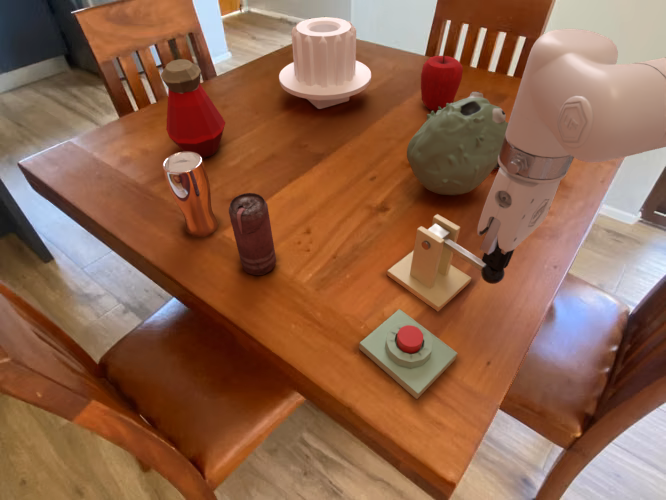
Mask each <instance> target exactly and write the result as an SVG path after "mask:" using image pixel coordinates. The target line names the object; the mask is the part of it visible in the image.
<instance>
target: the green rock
mask: <svg viewBox="0 0 666 500" xmlns="http://www.w3.org/2000/svg"><path fill="white" fill-rule="evenodd" d="M438 108H439V110H438V111H436V112H435V111H432V110H430V113H427V114H426V120H425V122H424V123H423V124H421V126H420V128H419V129H418V130H417V131H416V132H415V134H414V135H413V136H412V137H411V139H410V140H409V142H408V144H407V149H406V158H407V161H408V164H409V165H410V169H411V170H412V173H413V175H414V177H415V178H416V179H417V181H418V182H419V183H420V184H421V185H422V186H423V187H424V188H425V189H427V190H428V191H430V192H432V193H434V194H437V195H441V196H459V195H464V194H469V193H470V192H471V191H474V190H475V189H476V188H477V187H479V186H480V185H481V184H482V183H483V182H484V181H485V180H486V179H487V178H488V177H489V176H490V174H491V173H492V172H493V170H495V169H494V168H495V166H496V165H497V163H498V155H499V152H500V149H501V146H502V142H503V139H504V136H505V132H506V129H507V126H508V123H509V122H508V121H506V118H507V115H506V112H505V111H504V110H503V108H502V107H501V106H497V105H494V104H492V103H491V102H490V101H489V99H488V98H485V97H484V93H482V92H480V91H472V92H470V94H469V96H468V97H466V98H462V99H460V100H457V101H453V103H450V104H449V103H447V104H446V107H445V108H443V109H442V108H441V107H438Z"/></svg>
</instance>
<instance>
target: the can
mask: <svg viewBox="0 0 666 500" xmlns="http://www.w3.org/2000/svg"><path fill="white" fill-rule="evenodd" d="M228 215H229V220H230V224H231V227H232V231H233V235H234V239H235V243H236V247H237V252H238V256H239V259H240V264H241V267H242V269H243V270H244V272H246V273H248V274H249V275H253V276H263V275H267V274H268V273H269V272H271V271H272V270H273V269H274V267H275V266H276V264H277V257H276V250H275V244H274V238H273V231H272V225H271V219H270V213H269V206H268V203H267V201H266V200H265V199H264V197H263V196H262V195H260V194H258V193H255V192H245V193H241V194H239V195H237V196H234V198H233V199H232V200H231V201H230V203H229V207H228Z"/></svg>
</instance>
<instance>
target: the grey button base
mask: <svg viewBox="0 0 666 500" xmlns="http://www.w3.org/2000/svg"><path fill="white" fill-rule="evenodd" d="M407 325H411V326H415V327H417V328H418V329H420V330H421V332H422V334H423V342H422V346H421V349H420V350H419V351H417V352H415V353H405V352H403V351H402V350H401V349H400V348H399V347H398V345H397V335H398V331H399V330H400V328H402V327H404V326H407ZM358 346H359V347H358V349H359V350H360V351H361V352H362V353H363V354H365V356H367V357H368V358H369V359H370V361H372V362H373V363H374V364H376V365H377V366H378V367H379V368H380V369H381V370H383V371H384V372H385V373H386V374H387V376H389V377H390V378H391V379H393V380H394V381H395V383H397V384H399V385H400V386H401V387H402V388H403V389H404V390H405V391H406V392H408V394H410V395H411V396H412V397H413V398H414V399H416V400H418V399H419V398H420V397H421V396H422V395H423V394H424V393H425V392H426V391H427V389H429V388H430V386H431V385H432V384H433V383H434V382H435V381H436V380H437V379H438V378H440V376H441V375H442V374H443V373H444V372H445V371H446V370H447V369H448V368H449V367H450V366H451V365H452V364H453V363H454V362H455V361H456V359H457V356H458V352H457V351H456V350H454V349H453V348H452V347H451V346H449V345H448V344H447V343H445V342H444V341H443V340H441V339H440V338H439V337H437V336H436V335H435V334H433V333H432V332H431V331H429V329H427V328H425V326H423V325H422V324H420V323H419V322H418V321H416V320H415V319H414V318H412V317H411V316H410V315H409V314H407V313H406V312H404V311H403V310H402V309H400V308H399V309H397V310H396V311H395V312H394V313H392V315H390V316H389V317H388V318H387V319H386V320H384V321H383V322H382V323H381V324H379V326H377V327H376V328H375V329H374V330H373V331H371V333H369V334H368V335H367V336H366V337H364V338H363V339H362V340H361V341H360V342H359V344H358Z"/></svg>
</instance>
